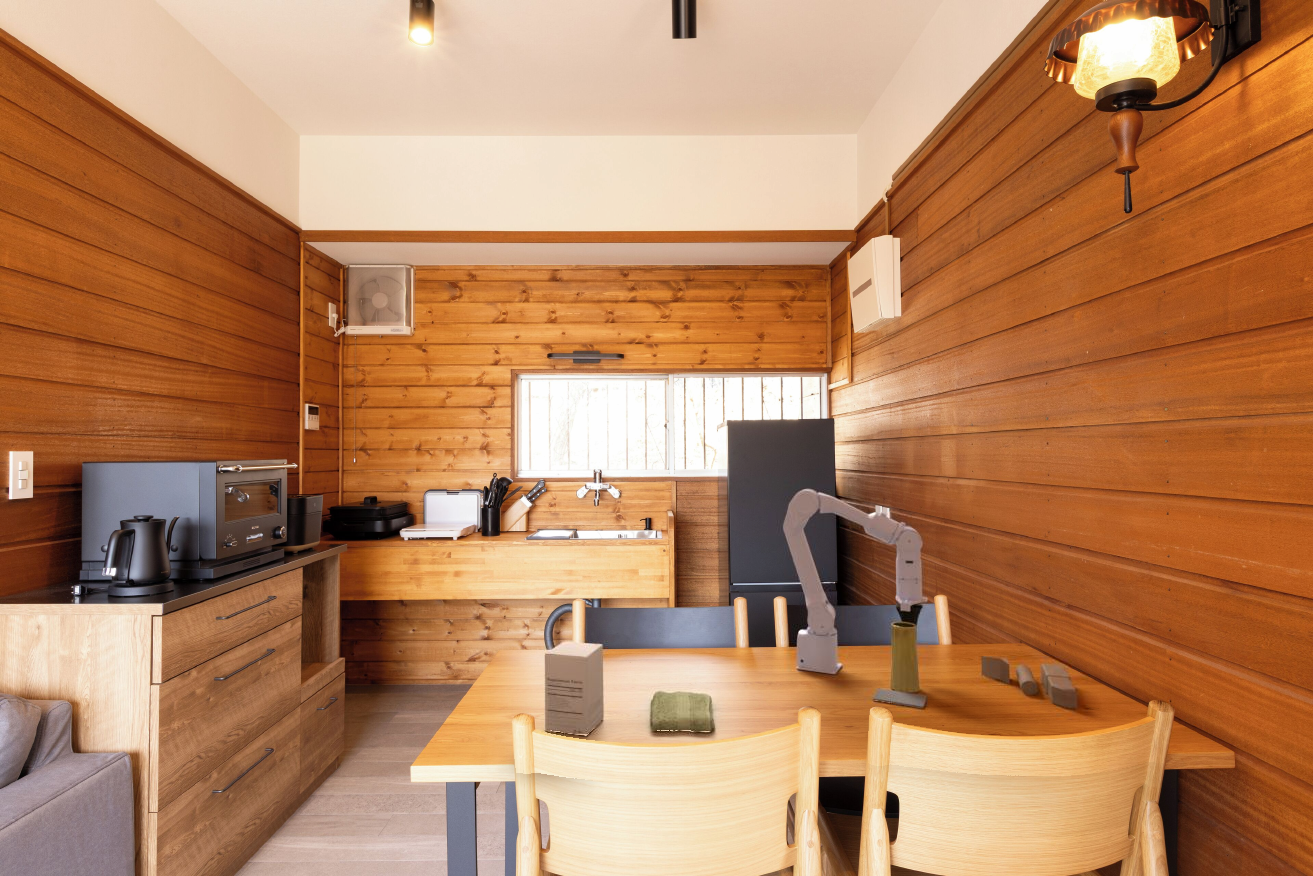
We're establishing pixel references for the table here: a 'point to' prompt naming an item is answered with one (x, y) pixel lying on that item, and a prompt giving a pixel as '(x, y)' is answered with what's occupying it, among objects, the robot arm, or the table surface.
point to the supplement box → (574, 687)
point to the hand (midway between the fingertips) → (909, 635)
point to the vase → (904, 658)
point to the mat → (900, 698)
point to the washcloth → (681, 711)
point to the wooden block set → (1051, 678)
